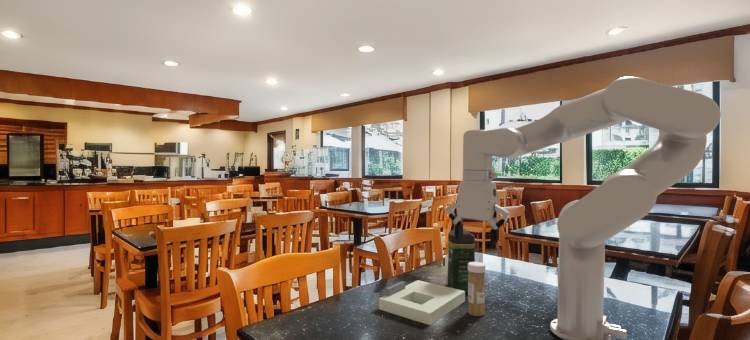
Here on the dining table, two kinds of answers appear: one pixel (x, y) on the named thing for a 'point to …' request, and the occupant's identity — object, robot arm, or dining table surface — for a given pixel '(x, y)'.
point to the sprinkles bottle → (476, 288)
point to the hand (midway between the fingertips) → (476, 241)
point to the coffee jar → (460, 259)
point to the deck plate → (421, 301)
